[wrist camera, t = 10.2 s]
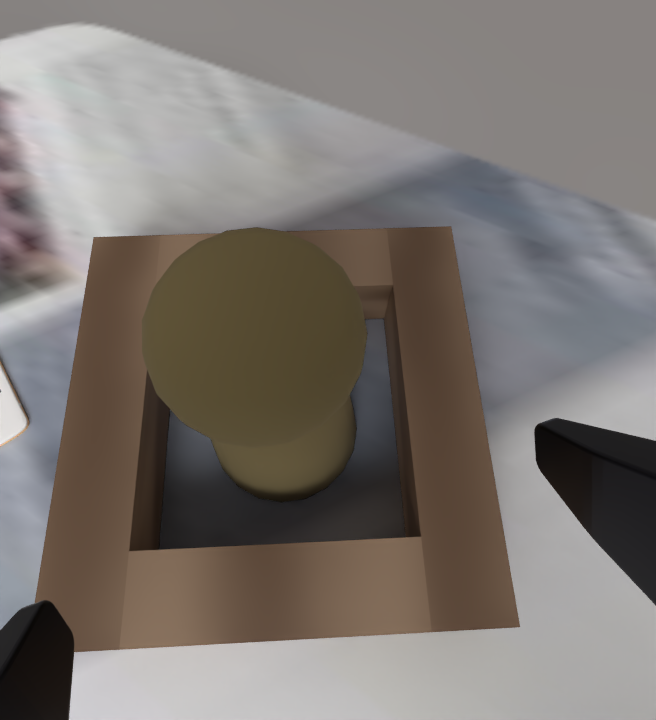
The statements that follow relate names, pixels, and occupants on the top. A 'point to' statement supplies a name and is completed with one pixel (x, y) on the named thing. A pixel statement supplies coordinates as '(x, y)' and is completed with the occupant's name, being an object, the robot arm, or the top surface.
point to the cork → (260, 357)
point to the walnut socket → (290, 560)
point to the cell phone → (10, 411)
